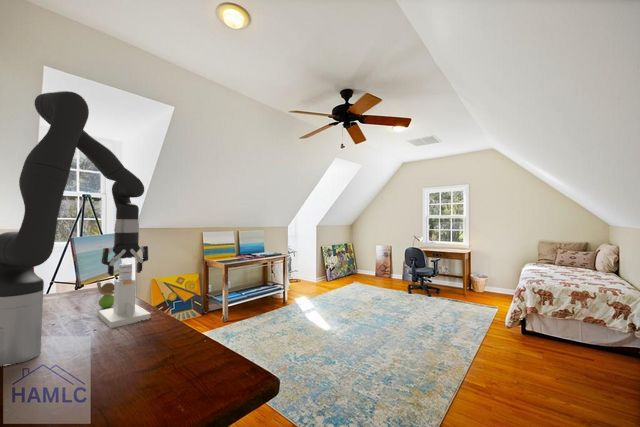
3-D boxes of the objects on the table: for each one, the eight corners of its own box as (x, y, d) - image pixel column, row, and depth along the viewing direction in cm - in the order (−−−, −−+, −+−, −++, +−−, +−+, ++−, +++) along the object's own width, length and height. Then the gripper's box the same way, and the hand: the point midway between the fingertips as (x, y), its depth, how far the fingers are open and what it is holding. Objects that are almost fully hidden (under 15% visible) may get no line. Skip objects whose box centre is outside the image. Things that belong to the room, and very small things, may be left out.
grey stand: (150, 318, 101) (151, 280, 101) (110, 328, 91) (112, 286, 92) (134, 308, 112) (135, 274, 112) (97, 315, 103) (99, 278, 103)
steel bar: (130, 309, 102) (132, 264, 103) (120, 311, 99) (121, 264, 100) (128, 307, 104) (129, 263, 105) (117, 309, 102) (119, 264, 102)
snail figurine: (97, 307, 113) (99, 278, 114) (116, 305, 116) (117, 277, 116) (93, 311, 108) (94, 280, 109) (113, 309, 111) (114, 279, 111)
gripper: (106, 232, 95) (104, 278, 94) (151, 231, 106) (150, 272, 105) (100, 231, 100) (99, 275, 99) (144, 230, 111) (143, 270, 110)
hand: (125, 274), depth 102 cm, fingers open, 8 cm apart
